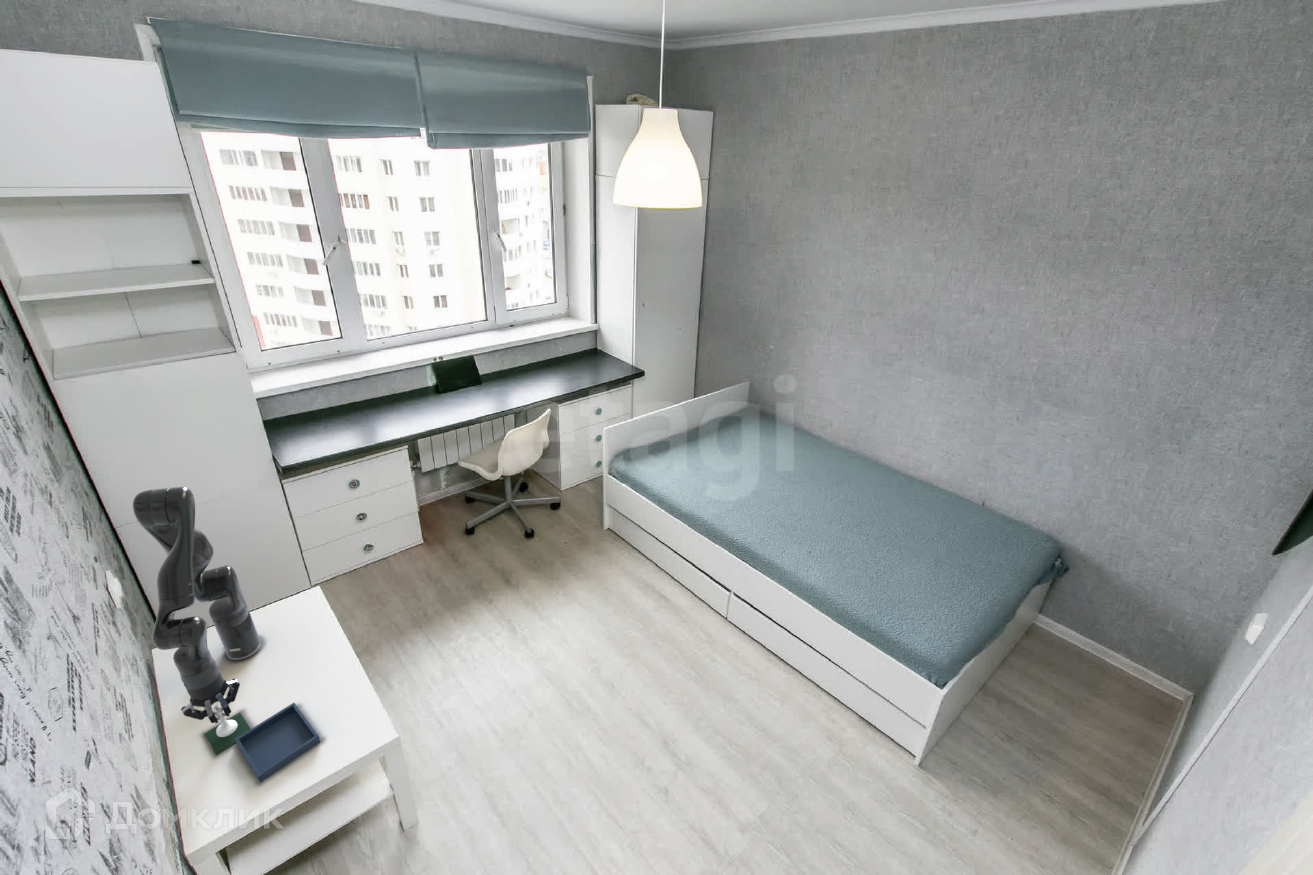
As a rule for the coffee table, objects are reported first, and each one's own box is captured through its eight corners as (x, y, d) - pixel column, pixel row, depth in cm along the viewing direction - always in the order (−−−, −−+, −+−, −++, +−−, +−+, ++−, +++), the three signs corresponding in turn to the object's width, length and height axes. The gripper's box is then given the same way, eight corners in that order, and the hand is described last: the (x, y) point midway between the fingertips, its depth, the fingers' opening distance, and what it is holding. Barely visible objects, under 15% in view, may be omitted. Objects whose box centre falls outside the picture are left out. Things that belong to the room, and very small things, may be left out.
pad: (204, 734, 166) (203, 733, 166) (240, 712, 172) (239, 712, 172) (216, 755, 161) (216, 754, 161) (252, 732, 168) (252, 731, 167)
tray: (236, 744, 164) (234, 739, 163) (296, 707, 175) (294, 702, 174) (259, 782, 156) (257, 777, 155) (320, 741, 167) (318, 735, 166)
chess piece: (227, 738, 163) (216, 716, 158) (212, 734, 164) (200, 712, 159) (241, 722, 168) (231, 700, 163) (226, 718, 168) (215, 696, 163)
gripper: (226, 652, 161) (244, 693, 170) (164, 684, 152) (187, 726, 161) (237, 668, 158) (254, 709, 166) (174, 702, 148) (197, 744, 157)
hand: (221, 717), depth 163 cm, fingers closed on chess piece
